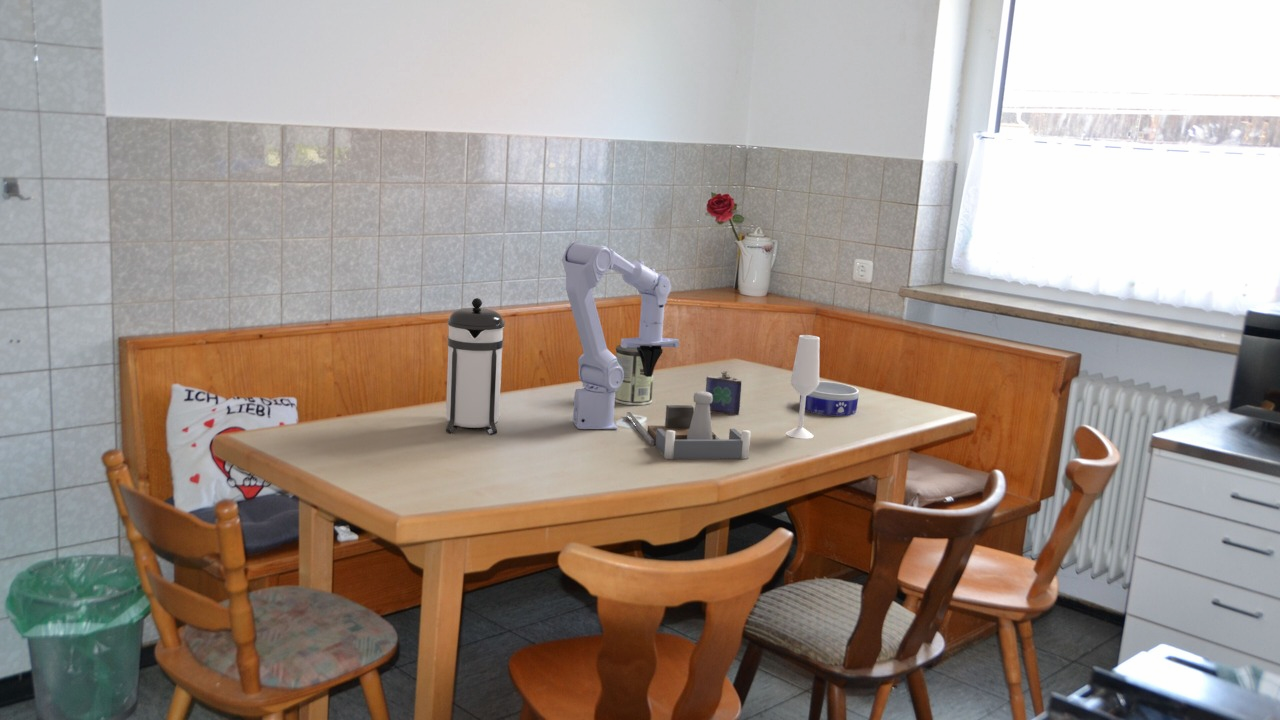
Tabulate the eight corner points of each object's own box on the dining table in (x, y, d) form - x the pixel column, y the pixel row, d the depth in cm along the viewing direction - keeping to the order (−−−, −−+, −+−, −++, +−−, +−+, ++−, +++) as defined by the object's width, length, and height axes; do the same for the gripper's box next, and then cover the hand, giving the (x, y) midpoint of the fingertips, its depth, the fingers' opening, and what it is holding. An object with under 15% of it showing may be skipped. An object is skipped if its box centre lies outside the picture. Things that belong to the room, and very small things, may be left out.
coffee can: (626, 393, 294) (630, 342, 291) (659, 401, 288) (663, 348, 285) (604, 400, 285) (608, 347, 282) (638, 407, 280) (641, 353, 277)
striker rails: (650, 445, 247) (651, 440, 247) (626, 416, 270) (626, 411, 270) (720, 445, 251) (720, 440, 251) (690, 416, 274) (690, 412, 274)
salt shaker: (711, 453, 244) (716, 396, 241) (686, 451, 244) (690, 394, 242) (711, 445, 250) (716, 390, 247) (686, 443, 250) (690, 388, 247)
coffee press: (522, 429, 252) (528, 300, 246) (466, 440, 241) (471, 305, 235) (474, 413, 264) (479, 289, 258) (419, 422, 252) (423, 293, 246)
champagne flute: (797, 429, 269) (806, 333, 264) (819, 436, 265) (829, 338, 260) (779, 433, 265) (789, 335, 260) (802, 440, 260) (812, 340, 255)
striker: (655, 443, 247) (657, 413, 246) (647, 433, 255) (649, 404, 254) (715, 443, 251) (717, 413, 249) (704, 433, 258) (707, 404, 257)
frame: (665, 459, 237) (667, 432, 236) (653, 445, 247) (655, 420, 246) (749, 458, 242) (752, 432, 241) (734, 445, 251) (737, 420, 250)
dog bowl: (839, 401, 302) (841, 380, 301) (867, 416, 288) (869, 394, 287) (789, 402, 297) (791, 380, 296) (815, 417, 283) (817, 394, 282)
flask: (702, 410, 281) (706, 369, 279) (705, 408, 284) (709, 367, 282) (737, 416, 279) (741, 374, 276) (740, 413, 281) (744, 372, 279)
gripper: (628, 324, 262) (625, 379, 265) (685, 324, 267) (680, 379, 270) (619, 319, 269) (616, 373, 272) (674, 319, 274) (670, 372, 277)
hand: (647, 375), depth 271 cm, fingers closed
